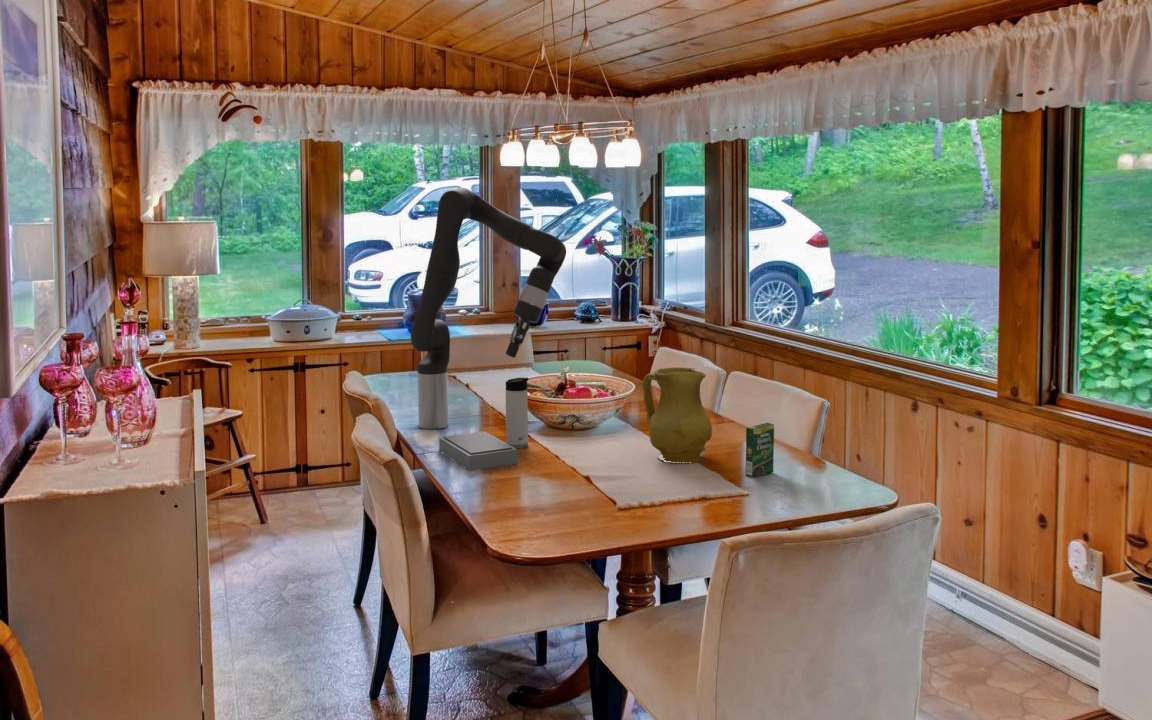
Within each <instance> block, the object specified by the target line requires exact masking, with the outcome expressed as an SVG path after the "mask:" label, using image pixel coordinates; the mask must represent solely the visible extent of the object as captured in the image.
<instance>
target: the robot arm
mask: <svg viewBox="0 0 1152 720" xmlns="http://www.w3.org/2000/svg"><path fill="white" fill-rule="evenodd" d="M466 219H468V220H472V221H475V222H478V223H480V224H482V225H485V226H486V227H487V228H489V229H490V230H492V231H493V232H494V233H495V234H496V235H498V236H499V237H500V238H502V239H503V240H504V241H505V242H507V243H509V244H511V245H513V246H515V247H518V248H520V249H522V250H525V251H529V252H531V253H533V254H535V255H536V256H539V257H540V258H539V260H538V262H537V263H536V266H535V267H533V268H532V269H531V271H530V272H529V275H528V277H527V280H526V282H525V285H524V286H523V288H522V290H521V292H520V295H519V297H518V300H517V302H516V304H515V308H514V310H513V312H512V313H513V315H514V316H516V317H518V318H519V320H517V321H515V323H514V325H513V329H512V331H511V335H510V337H509V338H510V339H509V344H508V346H507V349H506V351H505V355H507V356H508V357H510V358H516V356H517V354H518V351H519V348H520V347H521V345H522V344H523V343H524V340H525V339H526V336H527V333H528V332H529V330H530V322H531V323H533V324H537V323H538V322H539V321H540V318H541V315H542V312H543V310H544V308H545V305H546V302H547V299H548V295H549V292H550V290H551V288H552V285H553V283H554V279H555V278H556V276H557V274H558V272H559V271H560V270H561V268H562V266H563V264H564V261H565V259H566V256H567V255H566V254H567V249H566V248H567V247H566V245H565V244H564V242H562V240H560V238H558V237H557V236H554V235H552V234H550V233H548V232H545V231H543V230H541V229H540V230H539V229H537V228H535V227H534V226H532V225H530V224H528V223H526V222H523V221H522V220H519V219H518V218H515V217H513V216H512V215H510V214H508V213H506V212H504V211H502V210H500V209H498V208H497V207H495V206H494V205H492V204H491V203H489V202H488V201H486V200H485V199H483V197H481V196H479V195H478V194H476V193H475V192H474V191H472V190H470V189H469V188H467V187H457V188H453V189H452V188H451V189H449V190H447V191H445V192H443V194H442V195H441V197H440V198H439V201H438V205H437V214H436V222H435V223H436V225H435V231H434V232H435V233H434V238H433V240H432V241H433V242H432V247H431V251H430V256H429V260H428V263H427V264H428V265H427V269H426V274H425V279H424V284H423V287H422V292H421V296H420V301H419V304H418V307H417V310H416V314H415V315H414V316H415V317H414V319H413V323H412V325H411V330H410V343H411V345H412V348H413V349H414V350H416V351H417V352H421V353H423V352H427V353H426V355H425V356H424V357H423V359H422V360H420V361H419V362H417V367H416V370H417V371H416V373H417V405H418V406H417V407H418V408H417V410H418V415H417V416H418V427H419V428H421V429H426V430H437V429H438V430H439V429H444V428H447V427H449V389H448V388H449V387H448V386H449V383H448V367H449V364H450V355H451V353H450V351H451V333H450V329H449V326H448V324H447V323H446V322H445V321H444V320H442V319H437V316H438V313H439V311H440V309H441V307H442V306H443V305H444V304H445V302H446V300H447V299H448V298H449V297H450V295H451V294H452V292H453V290H454V288H455V286H456V284H457V280H458V276H459V271H460V263H461V262H460V261H461V260H460V252H459V247H458V246H459V244H458V242H459V241H458V240H459V235H460V230H461V228H462V224H463V222H464V220H466Z"/></svg>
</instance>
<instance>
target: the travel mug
mask: <svg viewBox="0 0 1152 720" xmlns="http://www.w3.org/2000/svg"><path fill="white" fill-rule="evenodd" d="M528 382H529V377H516V378H510V379H507V380H506V381H505V439H506V440H505V443H507V444H508V445H510V446H512V447H514V448H516V449H523V448H527V447H528V446H529V445H528V444H529V434H528V433H529V431H528V429H529V427H528V426H529V425H528V423H529V422H528V418H529V417H528V408H529V407H528V404H529V403H528Z"/></svg>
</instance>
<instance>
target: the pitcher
mask: <svg viewBox="0 0 1152 720" xmlns="http://www.w3.org/2000/svg"><path fill="white" fill-rule="evenodd" d="M706 377H707V376H706V374H705V372H702V371H698V370H695V368H694V367H683V366H682V367H677V366H676V367H674V366H673V367H665V368H663V367H662V368H657V369H655V370H654V371H651V372H650V373H648V374H646V375H645V376H644V377H643V379H642V391H643V403H644V407H645V411H646V420H647V423H648V433H649V434H648V435H649V440H650V444H651V445H652V447H654V448H655V449H656V450H658V451H659V452H660V454H662V455H663V458H665V459H664V460H666V461H671V462H681V463H682V462H685V463H684V464H687V463H686V462H696V463H699V462H702V461H703V456H702V455H701V454H702V453H703V452H704V451H705V450H706V448H705V446H706V443H707V442H708V441H710V440H711V438H712V436H713V429H712V428H713V427H712V422H711V420H710V417H709V415H707V412H706V410H705V408H704V407H703V403H702V398H701V384H702V381H703V379H705V378H706ZM652 381H655V382H656V383H657V384H658V386H659V388H660V396H659V401H658V404H657V407H656V408H655V404H654V400H653V395H652ZM682 464H683V463H682Z"/></svg>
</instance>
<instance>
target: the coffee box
mask: <svg viewBox="0 0 1152 720" xmlns="http://www.w3.org/2000/svg"><path fill="white" fill-rule="evenodd" d="M745 429H746V431H745V432H746V434H745V435H746V436H745V471H744V472H745V477H750V478H751V479H753V478H757V477H759V476H764V475H768V474H769V475H770V474H772V473H774V454H775V453H774V452H775V451H774V448H775V445H774V444H775V424H773V423H769V422H765V423H760V424H756V425H752V426H747V427H746V428H745Z"/></svg>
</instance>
